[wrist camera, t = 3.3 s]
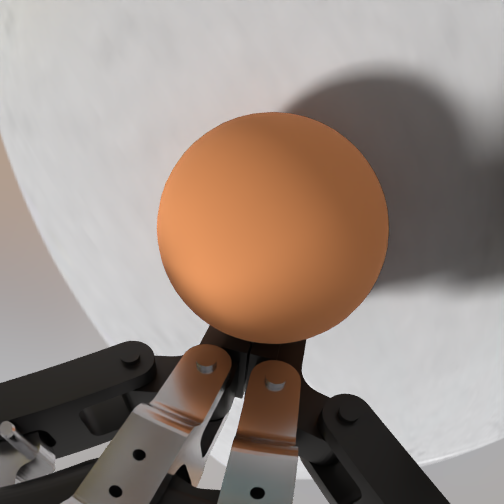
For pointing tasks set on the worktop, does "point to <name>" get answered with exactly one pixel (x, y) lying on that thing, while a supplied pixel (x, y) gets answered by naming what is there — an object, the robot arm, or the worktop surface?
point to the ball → (273, 227)
